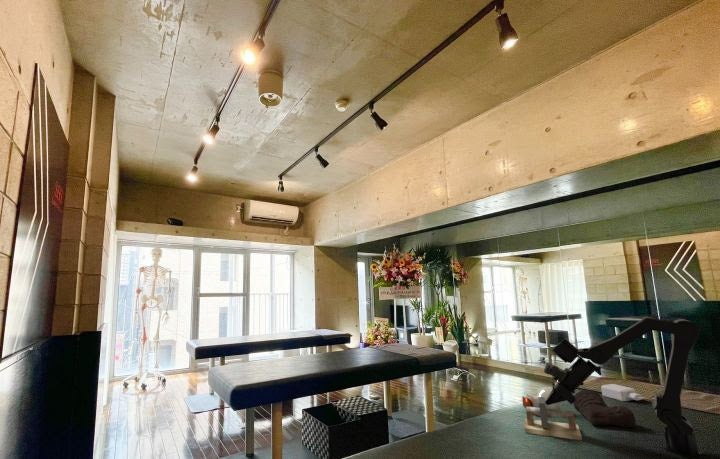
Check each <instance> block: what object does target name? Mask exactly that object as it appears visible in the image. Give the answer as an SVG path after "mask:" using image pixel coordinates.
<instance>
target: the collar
mask: <svg viewBox="0 0 720 459" xmlns="http://www.w3.org/2000/svg"><path fill="white" fill-rule="evenodd" d="M539 407H540V415H539V416H540V420H541V424H542V428H548V416H547V412H546V404H545V397H539Z"/></svg>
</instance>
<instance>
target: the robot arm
mask: <svg viewBox="0 0 720 459" xmlns="http://www.w3.org/2000/svg"><path fill="white" fill-rule="evenodd" d="M652 331H655V332H659V333H660V332H661V333H664V334H670V338H671V350H670V355H669V360H668V365H667V368H666V375H665V379H664V380H665V381H664V384H663V388H662V390H661V392H660V393H658V392H656V391H655V392H654V395H653V396H654V399H653V401H652V402H651V405H652V408H653V410H654V411H655V414H656V416H657V419H658V420H659V421H660V422H662V423H663V424H664V425H663V426H664V430H663V435H664V439H665V444H666V446H663V448H664V450H667V451H670V452H672V453H675V454H678V455H680V456H683V457H685V458H692V457H693V458H694V457H698V456H703V455H704V453H703V452H702V451H700V450H699V448H698V443H697V437H696V432H695V430H694V427H693V426H692V424H691V423H690V420H689V419H688V418H687V417H686V416H684V415H683V414H682V411H683V410H682V402H681V401H682V400H681V395H682V391H683V390H682V388H683V383H684V379H685V374H686V371H687V364H688V359H689V355H690V353H691V352H690V351H691V350H692V348H693V347H694V345H695V344H696V342H697V340H698V338H699V335H700V329H699V326H698V325H696V323H693V322H692V321H690V320H688V319H684V318H678V319H675V320H669V319H661V318H653V317H651V316H644V317H642V318H641V319H640V320H639V321H637V322H636V323H634V324H632V325H631V326H629V327H628V328H626V329H624V330H623V331H621V332H619V333H617V334H616V335H614V336H613V337H611V338H609V339H607V340H603V341H600V342H596V343H594V344H591V346H590V347H586V348H578V347H576V346H575V345H574V344H573V343H571V342H570V340H569V339H567V338H564V339H563V340H561V342H559V343H557V345H555V347H554V348H553V349H552V350H551V351H552V352H551V353H553V354H555V355H556V356H557V357H558V358H559V359H560V360H562V361H563V363H565V364H566V363H568V364H571V363H572V364H571V365H570V366H569V367H565V368H564V369H562V368H560V367H558V366H556V365H555V364H552V363H550V362H546V363H545V367H544V369H543V372H544V374H547V376H548V375H550V376H552V377H551V379H552V380H553V381H555V382H553V381H551V388H553V389H552V391H551V393H550V395H549V396H548V398H547V400H546V402H545V403H546V404H547V405H551V404H555V403H558V402H562V403H563V402H565V401H566V402H568V403H569V404H570V405H573V402H574V401H575V394H576V390H577V389H578V388H579V387H580V386H583V385H585V383H584V382H585V381H586V380H587V379H589V377H590V376H592V374H594V372H595V373H596V374H598V375H599V376H602V371H601V370H602V367H601V366H600V365H604V364H605V363H607V362H608V361H609V360H610V359H611V358H612V357H614V355H615V354H617V352H619V350H621V349H623V348H625V347H626V346H627V345H629V344H632V343H633V342H634V341H636V340H637V339H639V338H641V337H643V336H644V335H646V334H647V333H650V332H652ZM585 359H586V360H585ZM575 360H576V361H575ZM574 361H575V362H574ZM596 364H597V365H596Z"/></svg>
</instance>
